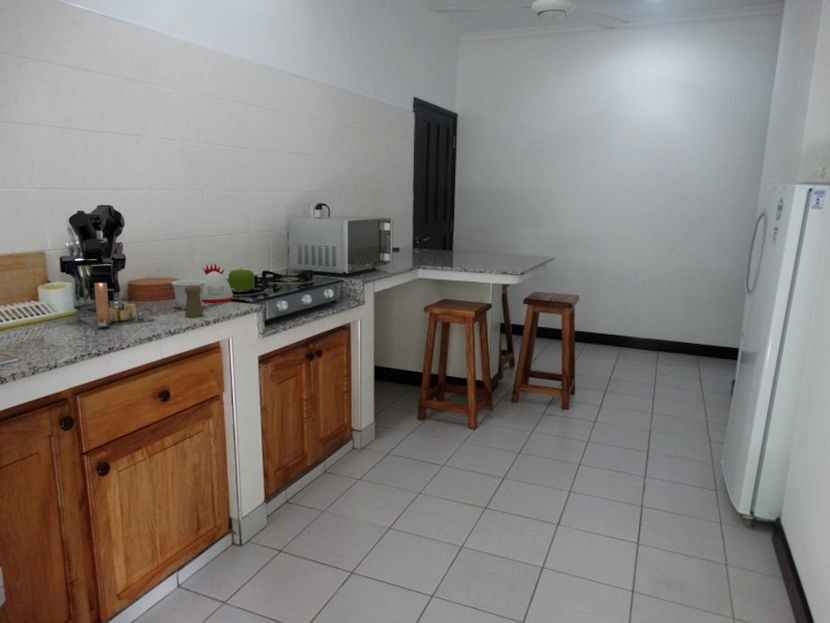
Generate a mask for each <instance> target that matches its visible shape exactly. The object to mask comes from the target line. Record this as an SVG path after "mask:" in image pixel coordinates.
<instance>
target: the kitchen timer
mask: <svg viewBox="0 0 830 623" xmlns="http://www.w3.org/2000/svg"><path fill="white" fill-rule="evenodd" d="M202 269H203V272H204V273H205V275H204V277H203V278H202V279H201V280H204V281H205V282H206V283H205V284H204V288H203V299H202V302H204V303H203V304H208V303H215V304H224V303H223V302H226V303H229V302H228V301H231V300H232V298H233V299H234V293H233V292H232V290H231V287H230V284H229V281H228V278H226V277H225V276H224V275H223V274H224V271H225V268H223V269H222V271H221V266H218V267H217V264H216V263H214V267H213V263H210V268H209V266H208V265H207V264H205V268H204V267H203V266H202ZM231 302H232V301H231Z"/></svg>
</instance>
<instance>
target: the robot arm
mask: <svg viewBox="0 0 830 623" xmlns="http://www.w3.org/2000/svg"><path fill="white" fill-rule="evenodd" d="M68 223H69V225H70V226H71V229H72V231H73V232H74V235H75V236H77V240H78V245H79V249H80V253H81V254H80V255H81V258H76V259H75V255H73V254H72V255H61V256H59V270H60V273H63V274H66V275H69V276H71V277H72V278H73V279H74V280H75V281H76V282H77V284H79V285H80V286H83V282H82V277H81V275H80V272H79V268H78V267H83V266H85V267H86V266H90V267H91V271H90V275H89V276H88V286H89V290H90V294H95V287H94V283H100V282H105V283H107V293H108V305H109V306H110V301H111V300H116V296H115V294H116V293H120V292H121V286H120V285H121V284H120V283H119V280H118V278H117V274H118V272H121V271H122V270H124V269H125V268H126V262H127V257H126V254H124V253H123V252H121V253H120V252H119V253H115V252H116V251H115V249H116V242H117V238H118V237H119V236H120V235H122V234H123V231H124V230H123V229H124V228H125V217H124V216H123V213H121V212H120V211H119V210H116V209H115V208H114V206H113V205H110V204H98V205H97V206H96V208H95V209H93V210H92V211H91V212H89V213H86V212H85V210H77V211H76V213H73V214H72V215H71V216H69V217H68ZM97 232H101V234H102V237H100V239H99V238H98V237H99V236H98V233H97ZM94 309H95V310H96V306H94Z"/></svg>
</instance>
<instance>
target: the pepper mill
mask: <svg viewBox="0 0 830 623" xmlns="http://www.w3.org/2000/svg"><path fill="white" fill-rule="evenodd" d="M185 293H186V294H187V300H186V310H185V311H184V312H185V314H184V317H185V318H187V317H188V318H187V319H197V318H196V317H199V318H202V316H203V317H204V312H203V306H202V303H201V300H200V295H199V294H200V293H201V288H200V286H198V285H188V286H186V287H185Z"/></svg>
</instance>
